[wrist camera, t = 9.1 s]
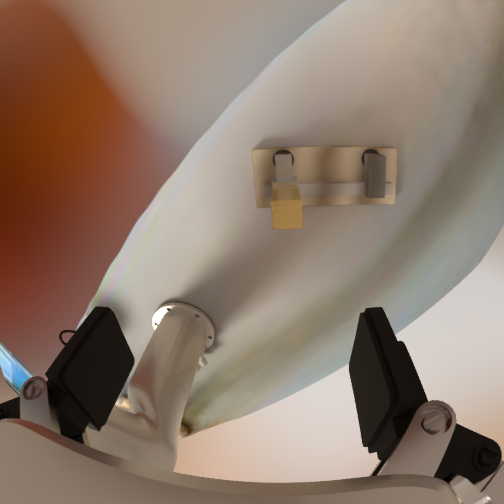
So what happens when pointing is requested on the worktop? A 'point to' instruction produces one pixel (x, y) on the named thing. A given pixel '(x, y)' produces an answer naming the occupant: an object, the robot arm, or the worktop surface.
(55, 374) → the robot arm
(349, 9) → the worktop surface
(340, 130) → the worktop surface
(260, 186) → the board
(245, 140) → the worktop surface
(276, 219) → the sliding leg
